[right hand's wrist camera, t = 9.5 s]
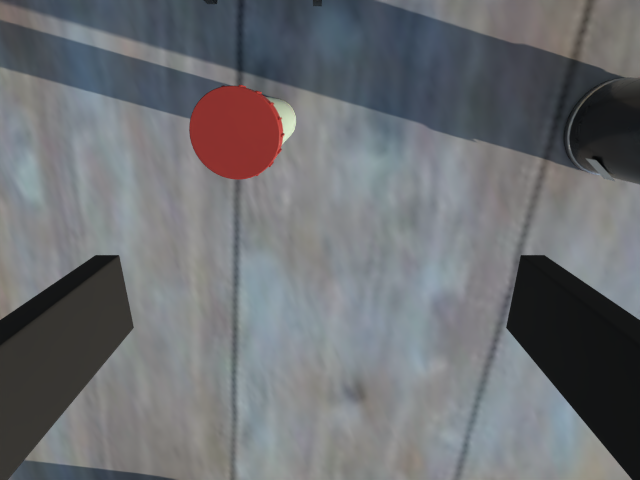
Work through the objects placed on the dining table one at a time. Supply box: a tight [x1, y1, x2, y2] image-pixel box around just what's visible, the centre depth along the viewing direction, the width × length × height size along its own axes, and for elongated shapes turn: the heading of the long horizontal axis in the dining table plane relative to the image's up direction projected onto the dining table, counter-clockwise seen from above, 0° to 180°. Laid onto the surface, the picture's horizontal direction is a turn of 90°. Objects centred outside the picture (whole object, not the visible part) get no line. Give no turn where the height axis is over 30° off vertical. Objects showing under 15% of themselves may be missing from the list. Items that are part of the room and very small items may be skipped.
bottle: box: [266, 97, 296, 144], centre depth 29 cm, size 4×4×19 cm
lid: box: [189, 85, 285, 179], centre depth 20 cm, size 5×5×2 cm
